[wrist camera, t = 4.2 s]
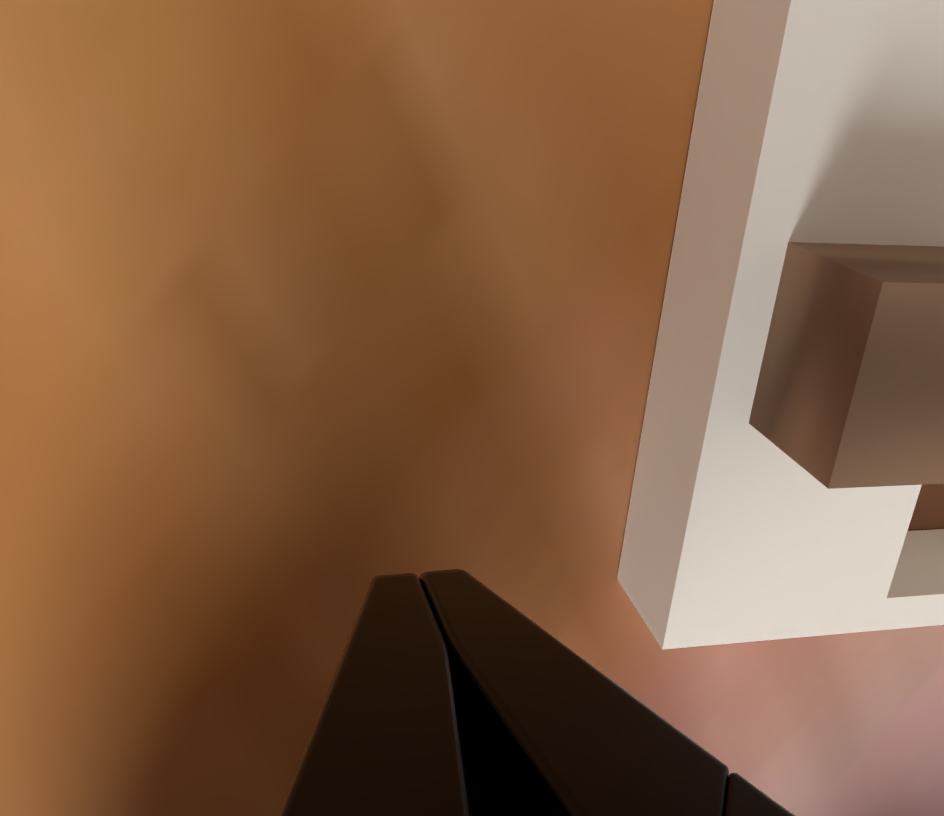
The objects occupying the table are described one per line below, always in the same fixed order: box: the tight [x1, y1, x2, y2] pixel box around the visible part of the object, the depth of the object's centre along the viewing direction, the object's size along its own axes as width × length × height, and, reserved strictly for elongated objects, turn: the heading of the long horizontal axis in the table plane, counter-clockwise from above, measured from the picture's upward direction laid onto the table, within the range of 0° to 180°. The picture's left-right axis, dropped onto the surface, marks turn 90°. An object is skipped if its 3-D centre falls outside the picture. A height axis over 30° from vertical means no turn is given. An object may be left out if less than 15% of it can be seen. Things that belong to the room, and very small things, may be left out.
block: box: [749, 242, 944, 489], centre depth 18 cm, size 4×4×3 cm
